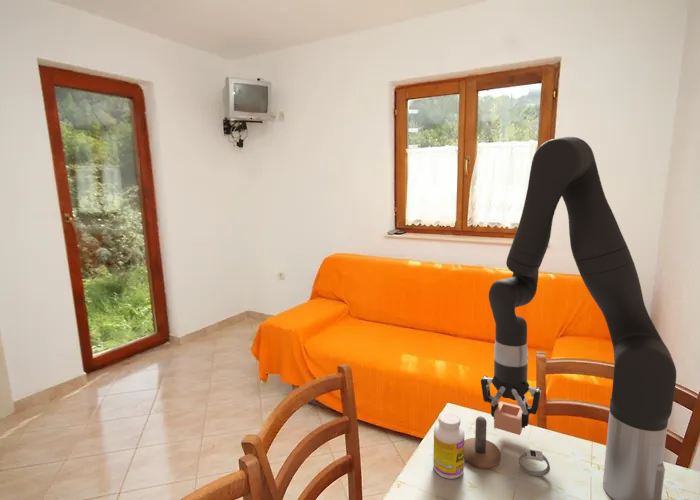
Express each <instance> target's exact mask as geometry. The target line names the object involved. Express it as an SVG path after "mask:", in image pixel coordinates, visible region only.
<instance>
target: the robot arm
mask: <svg viewBox="0 0 700 500" xmlns="http://www.w3.org/2000/svg"><path fill="white" fill-rule="evenodd" d="M528 176H529V178H528V182H527V190H526V195H525V199H524V204H523V209H522V212H521V216H520V219H519V224H518V226H517V229H516V231H515V232H516V233H515V234H514V238H513V240H512V243H511V246H510V249H509V252H508V255H507V258H506V264H505V265H506V268H507V269H508V270H509V271H510V272H512V275H511V276H510V277H507V278H502V279H498V280H496V281H494V282H493V283H492V284H491V286H490V288H489V291H488V301H489V305H490V306H489V307H490V309H491V312H492V317H493V319H494V323H495V331H494V333H495V339H494V340H495V341H494V348H493V351H494V352H493V353H494V354H493V377H488V376H487V375H483V376H482V378H481V380H480V385H481V386H480V387H481V392H482V400H483V401H484V402H485V403H489V404H490V416H491V417H492V418H494V412H495V410H496V409H497V407H498V405H499V402H500V399H501V398H503V399H510V400H512V401H516V403H517V406H520V408H521V410H522V427H523V429H525V428H526V427H528V425H529V423H530V415H531V414H532V415H536V414H537V412H538V409H539V405H540V400H541V397H542V396H541V395H542V391H543V390H542V388H541V387H534V386H530V384H529V382H528V370H529V369H528V366H529V365H528V363H529V362H528V360H529V352H528V351H529V350H528V323H527V320H526V319H525V318H524V317H522V316H521V315H517V314H516V308H519V307H523V306H526V305H528V304H529V303H531V302H532V301H533V300H534V298H535V297H536V293H537V290H538V282H539V270H540V268H541V264H542V262H543V260H544V257H545V255H546V253H547V250H548V247H549V243H550V239H551V236H552V226H553V220H554V215H555V212H556V209H557V207H558V204H559V202H560V200H561V198H562V200H563V201H564V204H565V207H566V210H567V217H568V231H569V232H568V234H569V241H570V242H569V243H570V249H571V253H572V256H573V260H574V262H575V264H576V265H575V266H576V267H577V269H578V272H579V275H580V277H581V279H582V281H583V283H584V285H585V287H586V289H587V290H588V292H589V294H590V295H591V297H592V299H593V300H594V301H595V303H596V305H597V306H598V308H599V309H600V311H601V313H602V316H603V317H604V320H605V323H606V325H607V329H608V333H609V337H610V340H611V342H612V343H611V345H612V348H613V358H614V359H613V362H614V367H613V379H612V389H611V397H610V401H609V412H608V423H607V432H606V433H607V434H606V436H607V437H606V445H605V454H604V455H605V456H604V468H603V475H602V476H603V477H602V487H603V489H604V491H605V493H606V494H607V495H608V496H609V497H610V498H611V499H612V500H662V497H663V496H662V495H663V490H664V488H663V487H664V480H665V479H664V478H665V471H666V469H665V463H664V457H665V451H666V450H665V449H666V442H667V441H666V440H667V439H666V438H667V431H668V423H669V419H670V417H671V415H672V412H673V404H674V398H675V392H676V386H677V385H676V383H677V369H676V365H675V363H674V360H673V358H672V354H671V352H670V351H669V348H668V347H667V346H666V344H665V343H664V341H663V339H662V337H661V335H660V334H659V332H658V330H657V329H656V327H655V324H654V323H653V321H652V318H651V317H650V314H649V312H648V310H647V307H646V305H645V300H644V296H643V292H642V287H641V282H640V277H639V275H638V271H637V268H636V265H635V262H634V260H633V257H632V255H631V251H630V249H629V247H628V245H627V242H626V240H625V238H624V235H623V233H622V231H621V229H620V226H619V223H618V222H617V219H616V217H615V215H614V213H613V210H612V208H611V206H610V204H609V202H608V199H607V197H606V194H605V192H604V189H603V185H602V182H601V177H600V174H599V170H598V166H597V162H596V157H595V154H594V151H593V150H592V147H591V146H590V145H589V144H588V143H587V141H585V140H584V139H581V138H580V137H575V136H564V137H556V138H552V139H549V140H547V141H545V142H544V143H542V144H541V145H540V146H538V148H537V149H536V150H535V152H534V154H533V156H532V161H531V165H530V171H529V175H528ZM491 385H493V386H494V388H495V390H496V393H495V395H494V396H493V395H492V394H491V388H490V387H491ZM528 392H529V393H530V396H531V398H532V403H531V405H529V403H528V400H527V399H528V398H527V397H526V394H527V393H528Z"/></svg>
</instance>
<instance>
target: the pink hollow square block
mask: <svg viewBox="0 0 700 500" xmlns="http://www.w3.org/2000/svg"><path fill="white" fill-rule="evenodd" d="M498 403H499V405H498V407H497V409H496V410H495V412H494V417H493V428H495V429H498V430H502V431H504V432H508V433H511V434H514V435H518V436H520V435H521V434H522V432H523V429H524V428H523V427H522V410H521V408H520V406H519V405H518V404H513V403H509V402H505V401H501V400H499V401H498Z"/></svg>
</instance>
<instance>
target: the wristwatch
mask: <svg viewBox="0 0 700 500" xmlns="http://www.w3.org/2000/svg"><path fill="white" fill-rule="evenodd" d="M525 457H526V459H528V460H534V461H539V462H545V463H546V464H547V465H546V466H547V467H546V468H545V469H543V470H539V471H536V470H531V469H528V468H527V467H526V466H524V465H523V463H522V460H523V459H524V458H525ZM518 465H519V467H520V469H521V470H522V471H523V472H525V473H526V474H528V475H530V476H534V477H543V476H546V475H548V474H549V473H550V471H551V467H550V466H551V465H550V462H549V460H548V458H547V457H546V456H545V455H544V454H543V451H540V450H534V449H529V448H526V449H525V451H524V452H522V453H521V454H520V456H519V457H518Z"/></svg>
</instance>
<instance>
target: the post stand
mask: <svg viewBox="0 0 700 500" xmlns="http://www.w3.org/2000/svg"><path fill="white" fill-rule="evenodd" d="M487 424H488V423H487V420H486V418H485V417H483V416H481V415H480V416H477V417H476V418H475V431H474V432H475V433H474V434H475V435H474V437H470V438H465V439H464V463H465V464H466V465H469V466H471V467H473V468H474V469H478V470H483V471H484V470H487V471H488V470H493V469H496V468H497V467H499V465H500V463H501V458H502V456H501V455H502V453H501V450H500V448H499V447H498V446H497V445H496V444H495V443H493V442H492V441H490V440H488V439H487V427H488V426H487Z"/></svg>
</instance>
